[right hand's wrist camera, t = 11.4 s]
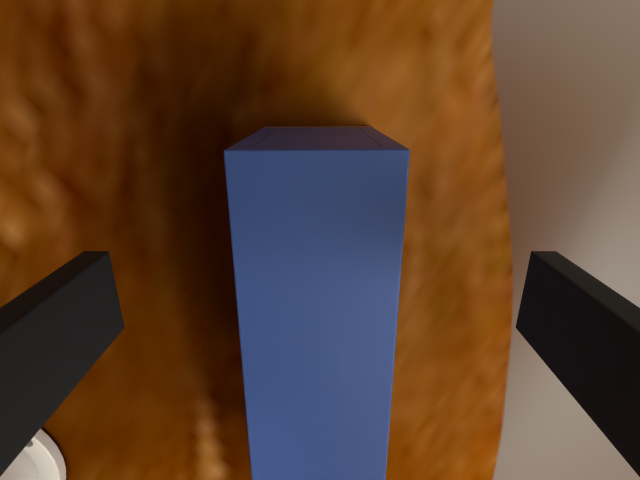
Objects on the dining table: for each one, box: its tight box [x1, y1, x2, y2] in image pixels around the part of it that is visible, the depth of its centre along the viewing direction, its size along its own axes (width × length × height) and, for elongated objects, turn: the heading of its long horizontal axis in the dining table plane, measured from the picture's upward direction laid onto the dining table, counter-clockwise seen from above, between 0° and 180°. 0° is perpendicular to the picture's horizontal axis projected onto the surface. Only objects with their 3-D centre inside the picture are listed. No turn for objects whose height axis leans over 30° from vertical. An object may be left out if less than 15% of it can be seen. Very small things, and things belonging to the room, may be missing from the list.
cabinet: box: [224, 126, 410, 480], centre depth 22 cm, size 17×7×11 cm, turn 0°
